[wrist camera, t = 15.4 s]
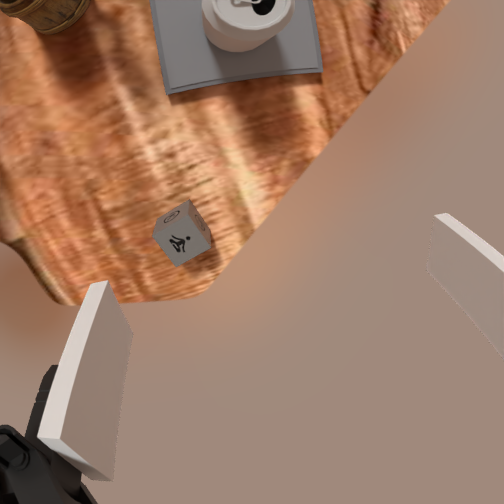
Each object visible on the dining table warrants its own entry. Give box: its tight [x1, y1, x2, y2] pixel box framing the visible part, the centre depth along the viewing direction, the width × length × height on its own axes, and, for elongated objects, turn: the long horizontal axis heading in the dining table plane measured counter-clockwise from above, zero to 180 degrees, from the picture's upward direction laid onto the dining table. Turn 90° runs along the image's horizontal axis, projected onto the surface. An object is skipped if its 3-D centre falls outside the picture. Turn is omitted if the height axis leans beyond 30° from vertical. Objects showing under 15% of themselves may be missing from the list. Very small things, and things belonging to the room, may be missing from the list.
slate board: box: [150, 0, 323, 95], centre depth 29 cm, size 18×14×2 cm
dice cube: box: [152, 199, 211, 267], centre depth 39 cm, size 5×5×5 cm
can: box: [202, 0, 295, 52], centre depth 23 cm, size 8×8×12 cm
